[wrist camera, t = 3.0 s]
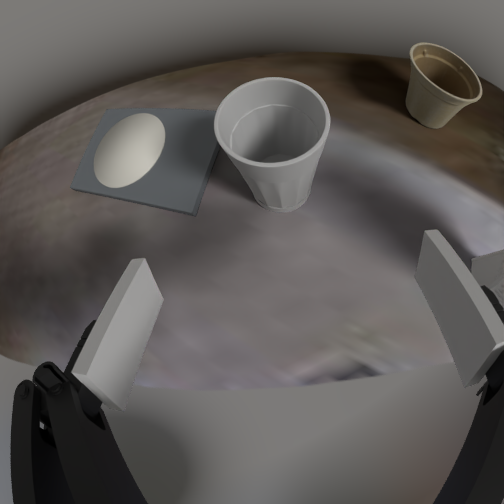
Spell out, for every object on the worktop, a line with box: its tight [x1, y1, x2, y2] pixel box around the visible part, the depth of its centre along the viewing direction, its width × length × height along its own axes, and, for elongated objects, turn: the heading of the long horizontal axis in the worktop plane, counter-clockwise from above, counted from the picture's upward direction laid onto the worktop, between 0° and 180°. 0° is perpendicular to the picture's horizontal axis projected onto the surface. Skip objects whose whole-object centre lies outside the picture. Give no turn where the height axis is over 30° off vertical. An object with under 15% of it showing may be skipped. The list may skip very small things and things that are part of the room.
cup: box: [214, 77, 330, 213], centre depth 24 cm, size 8×8×12 cm
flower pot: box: [406, 43, 482, 129], centre depth 24 cm, size 9×9×9 cm
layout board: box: [70, 108, 220, 216], centre depth 32 cm, size 20×13×1 cm, turn 74°
